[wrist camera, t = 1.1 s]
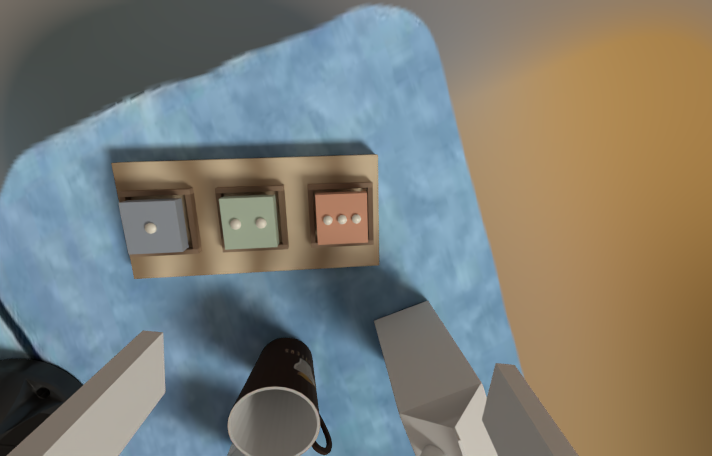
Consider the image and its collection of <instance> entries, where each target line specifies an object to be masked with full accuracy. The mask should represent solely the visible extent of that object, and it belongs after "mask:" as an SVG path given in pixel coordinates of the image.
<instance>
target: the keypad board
mask: <svg viewBox="0 0 712 456" xmlns="http://www.w3.org/2000/svg"><path fill="white" fill-rule="evenodd" d="M111 164H112V169H113V174H114V179H115V184H116V189H117V194H118V199H119V203H120V202H123V201H127V200H147V199H172V198H181V199H182V206H183V212H184V219H185V226H186V232H187V239H188V245H189V248H187V249H186V250H185V251H183V252H170V253H150V254H131V255H130V259H131V264H132V270H133V275H134V279H141V278H159V277H177V276H195V275H213V274H231V273H249V272H267V271H285V270H303V269H321V268H339V267H357V266H374V265H379V215H378V155H376V154H367V155H334V156H302V157H270V158H237V159H205V160H172V161H140V162H118V163H111ZM352 191H366V192H367V219H368V243H348V244H328V245H318V236H317V218H316V201H315V194H316V193H326V192H352ZM249 195H275V199H276V210H277V222H278V234H279V244H278V247H269V248H249V249H230V250H225V244H224V236H223V228H222V220H221V212H220V204H219V199H220V198H222V197H223V196H249Z"/></svg>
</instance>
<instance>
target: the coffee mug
mask: <svg viewBox="0 0 712 456" xmlns="http://www.w3.org/2000/svg"><path fill="white" fill-rule="evenodd" d="M320 426H321V428H322V430H323V433H324V435H325V438H326V443H327V445H326V448H323V447H321V446H320V445H319V444H318V443H317V442H316V441H315V440H316V438H317V436H318V434H319V429H320ZM228 433H229V436H230V438H231V441H232V442H233V444H234V445H235V447H236V448H237V449H238V450H240V451H241V452H242V453H243V454H245V455H246V456H300V455H301V454H303V453H304V452H306V451H307V450H308V449H309V448H310V447H311V446H312V447H313V449H314V450H315V451H316V452H318V453H320V454H322V455H327V454H328V453H330V451H331V448H332V441H331V437H330V434H329V432H328V429H327V427H326V425H325V423H324V421H323V419H322V417H321V416H320V414H319V408H318V400H317V392H316V384H315V376H314V368H313V360H312V354H311V352H310V350H309V348H308V347H307V346H306V345H305V344H304V343H303V342H301V341H299V340H297V339H294V338H279V339H276V340H274V341H272V342H270V343H269V344H268V345H267V346H266V347H265V348H264V349H263V351H262V353H261V355H260V356H259V358H258V360H257V362H256V364H255V366H254V368H253V370H252V372H251V374H250V376H249V378H248V379H247V381H246V383H245V385H244V387H243V389H242V391H241V393H240V395H239V397H238V399H237V400H236V402H235V404H234V406H233V408H232V410H231V412H230V415H229V418H228Z"/></svg>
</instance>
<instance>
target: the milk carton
mask: <svg viewBox="0 0 712 456" xmlns="http://www.w3.org/2000/svg"><path fill="white" fill-rule="evenodd" d="M374 323H375V327H376V330H377V334H378V338H379V342H380V345H381V349H382V353H383V356H384V360H385V364H386V368H387V371H388V375H389V379H390V382H391V386H392V390H393V393H394V397H395V401H396V405H397V408H398V412H399V415H400V418H401V420H402V423H403V425H404V428H405V430H406V433H407V435H408V438H409V440H410V443H411V445H412V448H413V450H414V453H415V455H416V456H498V455H497V452H496V450H495V448H494V446H493V444H492V441H491V439H490V437H489V435H488V432H487V430H486V428H485V426H484V424H483V421H482V416H483V412H484V408H485V404H486V400H487V397H486V394H485V391H484V388H483V385H482V383H481V381H480V380H479V378H478V377H477V375H476V374H475V372H474V370H473V369H472V367H471V366H470V364H469V363H468V361H467V360H466V358H465V357H464V355H463V354H462V352H461V350H460V349H459V347H458V346H457V344H456V343H455V341H454V340H453V338H452V337H451V335H450V334H449V332H448V330H447V329H446V327H445V326H444V324H443V323H442V321H441V320H440V318H439V317H438V315H437V314H436V312H435V310H434V309H433V307H432V306H431V304H430V303H429V301H425V302H423V303H420V304H417V305H415V306H412V307H409V308H407V309H404V310H401V311H399V312H396V313H393V314H391V315H388V316H385V317H383V318H380V319H377V320H375V321H374Z"/></svg>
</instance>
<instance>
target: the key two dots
mask: <svg viewBox="0 0 712 456" xmlns="http://www.w3.org/2000/svg"><path fill="white" fill-rule="evenodd" d="M219 204H220V212H221V220H222V228H223V236H224V244H225V250H230V249H249V248H269V247H278V244H279V234H278V222H277V210H276V199H275V195H249V196H223V197H222V198H220V199H219Z"/></svg>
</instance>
